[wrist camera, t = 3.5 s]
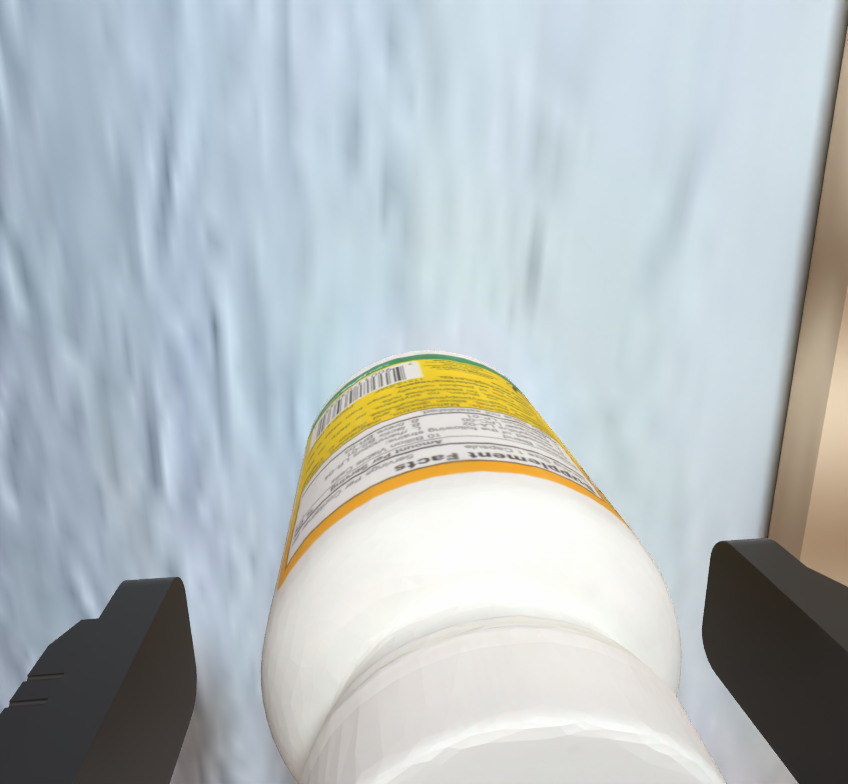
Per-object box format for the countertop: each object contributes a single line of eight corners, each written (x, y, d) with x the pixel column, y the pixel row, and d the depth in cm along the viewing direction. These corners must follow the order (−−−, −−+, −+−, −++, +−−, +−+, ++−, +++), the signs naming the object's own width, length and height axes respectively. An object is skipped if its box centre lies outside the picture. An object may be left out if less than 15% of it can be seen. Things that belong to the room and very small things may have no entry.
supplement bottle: (335, 318, 13) (279, 578, 4) (572, 377, 14) (944, 697, 5) (282, 543, 15) (157, 1100, 6) (501, 584, 16) (696, 1124, 7)
